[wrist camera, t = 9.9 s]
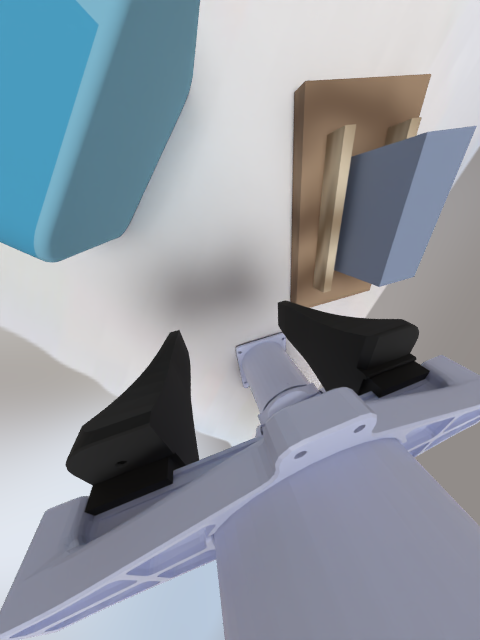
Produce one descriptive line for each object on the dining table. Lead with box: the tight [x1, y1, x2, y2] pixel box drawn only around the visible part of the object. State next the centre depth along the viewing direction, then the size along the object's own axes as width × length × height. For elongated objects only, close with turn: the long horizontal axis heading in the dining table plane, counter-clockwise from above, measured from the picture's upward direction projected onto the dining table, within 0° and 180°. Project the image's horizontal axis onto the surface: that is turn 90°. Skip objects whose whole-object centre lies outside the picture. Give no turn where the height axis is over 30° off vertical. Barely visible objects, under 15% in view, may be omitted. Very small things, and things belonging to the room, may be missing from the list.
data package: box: [0, 0, 200, 262], centre depth 8 cm, size 12×4×12 cm, turn 142°
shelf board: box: [291, 74, 431, 308], centre depth 19 cm, size 20×12×4 cm, turn 8°
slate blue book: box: [334, 126, 476, 287], centre depth 17 cm, size 10×4×7 cm, turn 8°
